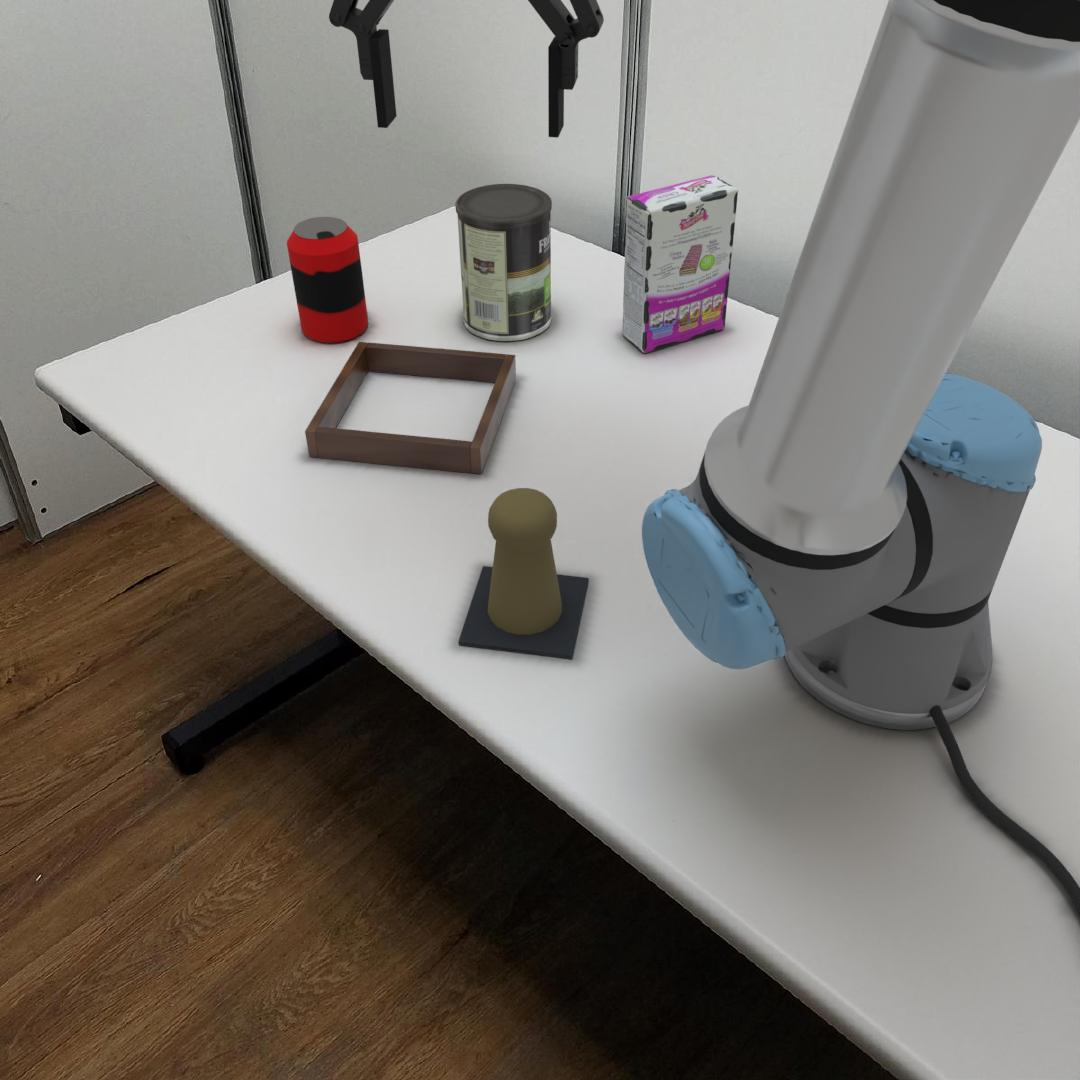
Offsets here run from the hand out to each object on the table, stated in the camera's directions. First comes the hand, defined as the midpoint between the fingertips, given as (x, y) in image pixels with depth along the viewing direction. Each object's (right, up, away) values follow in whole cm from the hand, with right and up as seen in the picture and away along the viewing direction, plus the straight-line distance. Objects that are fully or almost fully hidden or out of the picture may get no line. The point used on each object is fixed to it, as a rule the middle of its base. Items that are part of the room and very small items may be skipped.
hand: (470, 127), depth 84 cm
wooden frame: (-7, -20, +24) cm, 32 cm away
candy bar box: (+20, -9, +37) cm, 43 cm away
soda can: (-18, -8, +38) cm, 43 cm away
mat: (+4, -38, +2) cm, 39 cm away
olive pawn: (+4, -38, +2) cm, 38 cm away
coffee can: (+2, -7, +39) cm, 40 cm away
